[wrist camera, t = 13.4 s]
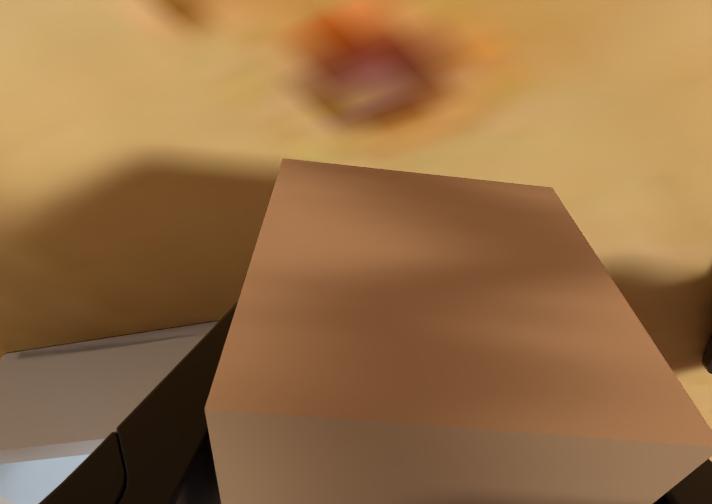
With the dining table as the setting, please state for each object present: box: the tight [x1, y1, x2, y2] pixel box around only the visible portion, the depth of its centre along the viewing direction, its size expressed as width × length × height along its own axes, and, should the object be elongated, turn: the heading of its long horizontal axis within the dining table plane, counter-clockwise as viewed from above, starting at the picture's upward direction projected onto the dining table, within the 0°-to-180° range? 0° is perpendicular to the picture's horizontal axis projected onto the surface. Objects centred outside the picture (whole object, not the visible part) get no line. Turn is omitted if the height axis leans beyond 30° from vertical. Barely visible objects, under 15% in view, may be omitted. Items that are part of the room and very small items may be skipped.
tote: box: [0, 321, 219, 504], centre depth 22 cm, size 15×21×4 cm
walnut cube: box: [205, 159, 712, 504], centre depth 8 cm, size 5×5×5 cm
